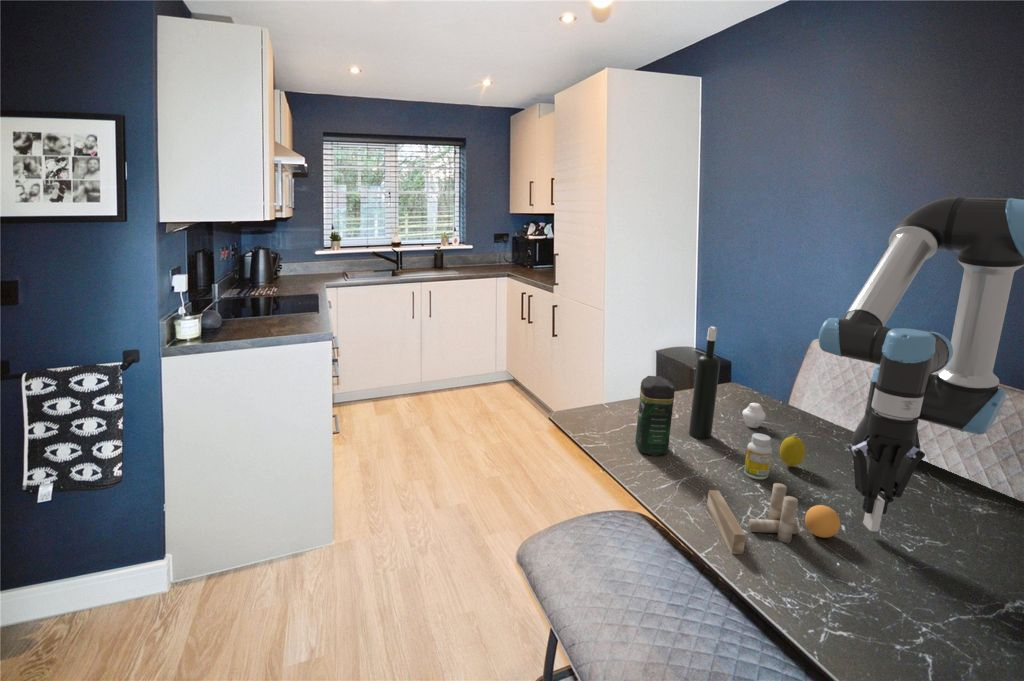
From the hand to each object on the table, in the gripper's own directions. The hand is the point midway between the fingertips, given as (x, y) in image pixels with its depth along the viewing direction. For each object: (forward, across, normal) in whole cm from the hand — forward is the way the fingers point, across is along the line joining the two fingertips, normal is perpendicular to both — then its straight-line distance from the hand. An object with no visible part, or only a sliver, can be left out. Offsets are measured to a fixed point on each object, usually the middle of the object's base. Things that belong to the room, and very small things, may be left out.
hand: (870, 527), depth 114 cm
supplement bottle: (+2, -13, +24) cm, 27 cm away
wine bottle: (+2, -20, +46) cm, 50 cm away
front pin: (+1, -14, 0) cm, 14 cm away
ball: (-1, -10, 0) cm, 10 cm away
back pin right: (+2, -17, +2) cm, 18 cm away
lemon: (+2, -3, +29) cm, 29 cm away
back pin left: (+2, -17, -2) cm, 18 cm away
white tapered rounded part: (+2, -3, +54) cm, 54 cm away
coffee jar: (+2, -35, +36) cm, 50 cm away
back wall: (+2, -28, 0) cm, 28 cm away
